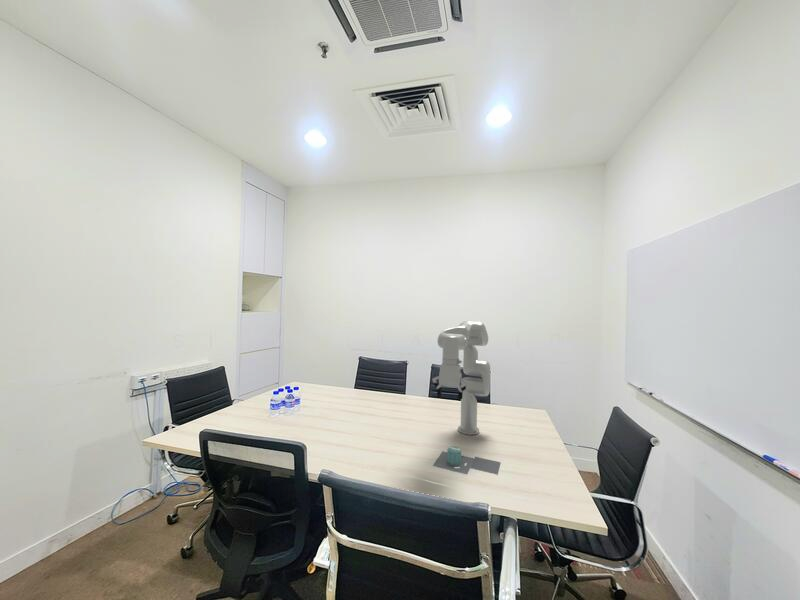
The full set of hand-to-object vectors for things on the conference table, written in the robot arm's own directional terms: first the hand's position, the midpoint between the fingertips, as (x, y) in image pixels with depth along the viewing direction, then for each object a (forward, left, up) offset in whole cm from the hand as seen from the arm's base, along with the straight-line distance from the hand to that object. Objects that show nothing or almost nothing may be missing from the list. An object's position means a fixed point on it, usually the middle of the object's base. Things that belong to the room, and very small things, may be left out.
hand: (449, 398), depth 145 cm
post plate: (-3, +2, -31) cm, 31 cm away
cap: (-3, +2, -30) cm, 31 cm away
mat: (-7, +16, -31) cm, 35 cm away
